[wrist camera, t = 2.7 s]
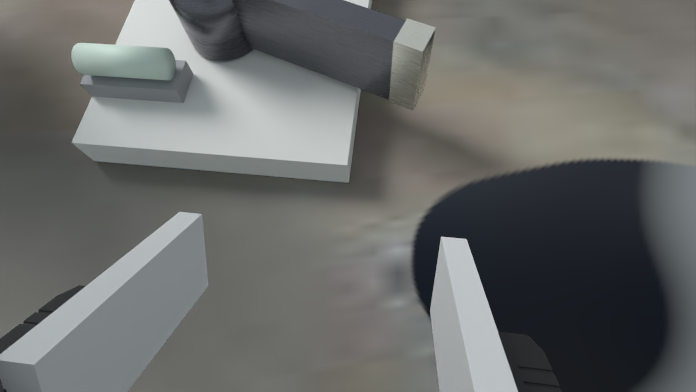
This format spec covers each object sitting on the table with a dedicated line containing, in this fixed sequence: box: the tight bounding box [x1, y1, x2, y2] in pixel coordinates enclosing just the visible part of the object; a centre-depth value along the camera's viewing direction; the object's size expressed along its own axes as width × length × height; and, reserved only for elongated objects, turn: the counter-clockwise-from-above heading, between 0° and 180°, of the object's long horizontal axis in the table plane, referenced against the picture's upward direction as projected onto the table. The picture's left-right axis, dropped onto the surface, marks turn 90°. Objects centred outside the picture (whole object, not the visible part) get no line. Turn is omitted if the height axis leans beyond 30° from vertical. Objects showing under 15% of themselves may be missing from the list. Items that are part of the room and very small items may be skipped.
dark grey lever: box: [169, 0, 436, 110], centre depth 31 cm, size 21×6×7 cm, turn 63°
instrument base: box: [71, 0, 372, 183], centre depth 36 cm, size 22×24×7 cm
